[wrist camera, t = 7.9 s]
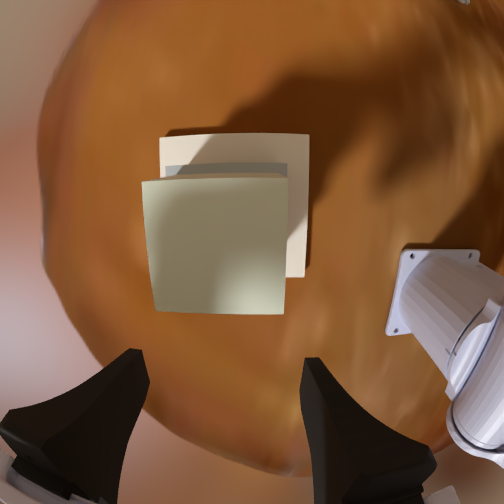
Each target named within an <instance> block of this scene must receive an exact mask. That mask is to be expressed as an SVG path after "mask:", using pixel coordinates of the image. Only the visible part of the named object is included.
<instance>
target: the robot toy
mask: <svg viewBox="0 0 504 504" xmlns="http://www.w3.org/2000/svg"><path fill="white" fill-rule="evenodd" d="M458 2H460V3H462V4H466V5H468V4H469V3H470V0H458Z"/></svg>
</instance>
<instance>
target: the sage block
mask: <svg viewBox="0 0 504 504" xmlns="http://www.w3.org/2000/svg"><path fill="white" fill-rule="evenodd" d="M288 184H289V178H287V177H285V176H283V175H281V174H279V173H203V174H180V175H172V176H167V177H162V178H157V179H152V180H148V181H143V182H142V196H143V211H144V223H145V234H146V244H147V253H148V262H149V270H150V277H151V284H152V291H153V298H154V304H155V310H156V311H165V312H185V313H213V314H284V296H285V276H286V253H287V225H288Z"/></svg>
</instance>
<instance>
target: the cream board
mask: <svg viewBox="0 0 504 504" xmlns="http://www.w3.org/2000/svg"><path fill="white" fill-rule="evenodd" d="M210 163H287V178H289V184H288V225H287V253H286V276H285V277H304V274H305V259H306V242H307V221H308V193H309V135H308V134H286V133H225V134H202V135H187V136H174V137H163V138H160V178H162V177H166V172H165V166H174V165H188V164H210Z"/></svg>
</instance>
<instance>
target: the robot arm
mask: <svg viewBox="0 0 504 504" xmlns="http://www.w3.org/2000/svg"><path fill="white" fill-rule="evenodd" d="M412 253H413V256H412V257H411V258H410V255H411V254H412ZM469 254H470V255H469ZM479 257H480V252H479V251H478V250H476V249H404V250H403V251H402V252H401V256H400V262H399V268H398V274H397V279H396V285H395V290H394V295H393V299H392V304H391V308H390V313H389V317H388V321H387V325H386V329H385V332H386V334H387V335H388V336H392V335H400V334H408V333H413V335H414V336H415V337H416V339H417V340H418V341H419V342H420V344H421V345H422V346H423V348H424V349H425V350H426V352H427V353H428V354H429V356H430V357H431V358H432V360H433V361H434V362H435V364H436V365H437V366H438V368H439V369H440V370H441V372H442V373H443V375H444V376H445V377H446V379H447V380H448V386H447V388H446V390H445V392H446V394H447V395H448V397H449V398H450V400H451V401H452V402H451V404H450V405H449V407H448V410H447V414H446V423H447V427H448V431H449V433H450V435H451V437H452V438H453V440H454V441H455V442H456V443H457V444H458V446H459V447H461V448H462V449H463V450H464V451H466V452H468V453H470V454H472V455H474V456H478V457H483V458H487V459H490V460H492V461H494V462H496V463H497V464H498V465H500V466H501V467H502V468H504V277H503V276H501V275H500V274H498V273H497V272H495V271H493V270H492V269H490V268H488V267H487V266H485V265H483V264H482V263H480V262H479ZM396 328H397V329H396ZM395 329H396V330H395ZM394 330H395V331H394ZM149 384H150V381H149V377H148V373H147V369H146V365H145V361H144V357H143V353H142V350H139V349H132V348H130V349H128V350H127V351H125V352H124V353H123V354H121V355H120V356H119V357H118V358H116V359H115V360H114V361H113V362H111V363H110V364H109V365H107V366H106V367H105V368H103V369H102V370H101V371H100V372H98V373H97V374H95V375H94V376H92V377H91V378H89V379H88V380H87V381H85V382H84V383H82V384H80V385H79V386H77V387H75V388H73V389H72V390H70V391H68V392H66V393H64V394H62V395H59V396H57V397H55V398H53V399H50V400H47V401H45V402H42V403H38V404H35V405H32V406H28V407H22V408H17V409H12V410H9V411H8V413H7V414H6V415H5V417H4V418H3V420H2V421H1V422H0V435H1V437H2V438H3V439H4V440H5V442H6V443H7V444H8V445H9V447H10V448H11V449H12V450H13V451H14V452H15V453H16V454H17V457H16V458H15V459H14V458H13V457H12V456H10V455H9V454H7V453H6V452H4V451H3V450H1V449H0V500H1V501H2V502H3V503H5V504H117V497H118V488H119V481H120V474H121V470H122V465H123V460H124V456H125V452H126V448H127V444H128V441H129V438H130V435H131V433H132V431H133V428H134V426H135V423H136V421H137V418H138V416H139V414H140V411H141V409H142V407H143V404H144V402H145V399H146V395H147V392H148V388H149ZM299 391H300V403H301V411H302V416H303V420H304V425H305V429H306V434H307V438H308V443H309V447H310V453H311V460H312V472H313V486H314V504H460V502H459V499H458V497H457V495H456V492H455V490H454V488H453V486H449V487H447V488H444V489H442V490H440V491H437V492H435V493H432V494H430V495H428V496H427V497H425V498H422V495H421V493H422V492H423V491H424V490H423V486H422V483H423V482H424V481H425V480H426V479H427V478H428V477H429V476H430V475H431V474H432V473H433V472H434V471H435V469H436V467H437V463H436V460H435V458H434V456H433V453H432V452H431V450H430V448H429V446H427V445H425V444H422V443H420V442H417V441H415V440H412V439H410V438H408V437H406V436H404V435H402V434H400V433H398V432H396V431H394V430H393V429H391V428H389V427H388V426H386V425H385V424H383V423H382V422H380V421H379V420H377V419H376V418H374V417H373V416H372V415H371V414H369V413H368V412H367V411H366V410H364V409H363V408H362V407H361V406H360V405H359V404H358V403H357V402H356V401H355V400H354V399H353V398H352V397H351V396H350V395H349V394H348V393H347V392H346V391H345V390H344V388H343V387H342V386H341V385H340V384H339V383H338V382H337V380H336V379H335V378H334V377H333V375H332V374H331V373H330V371H329V370H328V369H327V367H326V366H325V365H324V363H323V362H322V361H321V359H320V358H319V357H315V358H305V360H304V366H303V372H302V378H301V384H300V390H299Z"/></svg>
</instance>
